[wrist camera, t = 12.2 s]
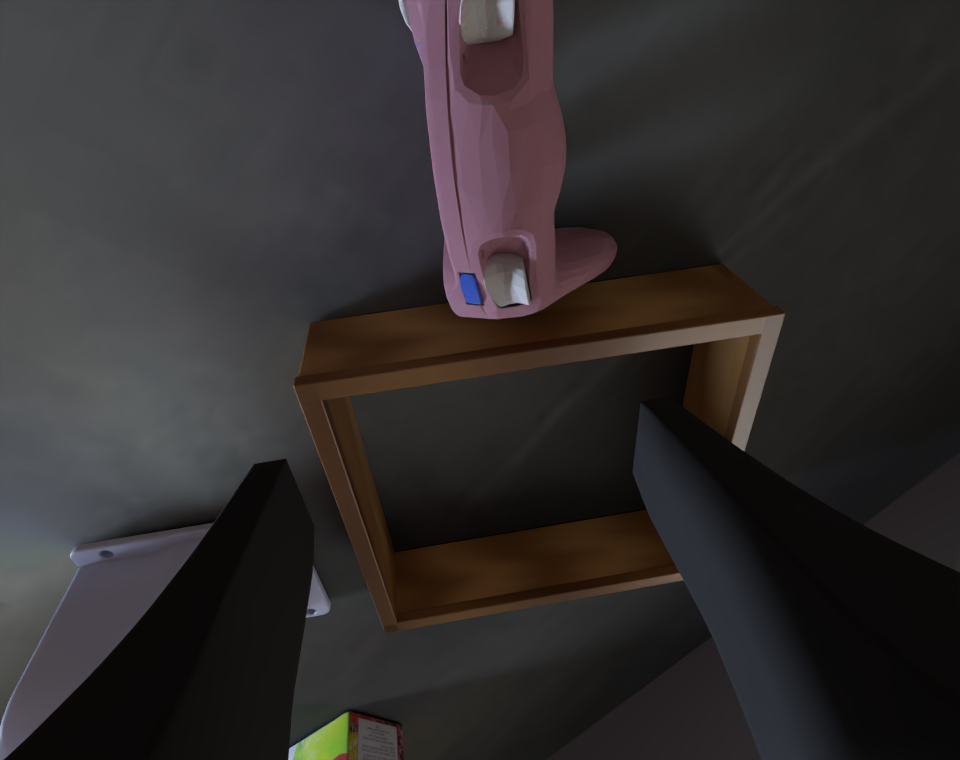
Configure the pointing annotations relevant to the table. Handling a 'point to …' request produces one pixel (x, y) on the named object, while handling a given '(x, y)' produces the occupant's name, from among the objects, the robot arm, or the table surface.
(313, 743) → the snack box
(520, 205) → the video game controller
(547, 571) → the wooden frame
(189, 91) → the table surface
